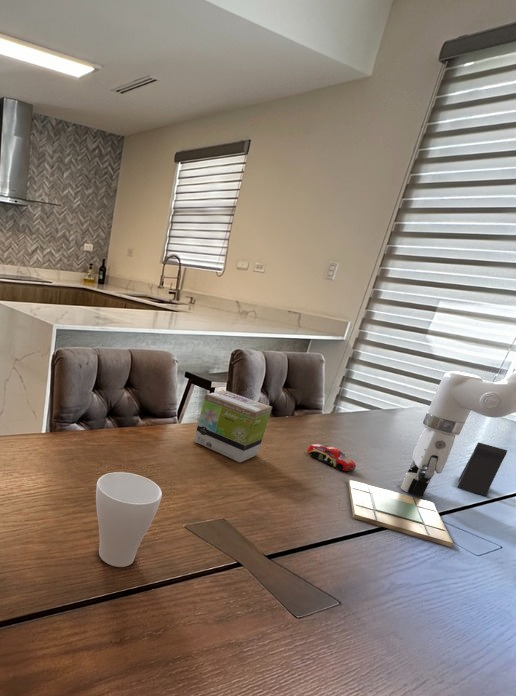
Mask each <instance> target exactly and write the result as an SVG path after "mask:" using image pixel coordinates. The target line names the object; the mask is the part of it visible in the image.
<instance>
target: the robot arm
mask: <svg viewBox="0 0 516 696" xmlns="http://www.w3.org/2000/svg"><path fill="white" fill-rule="evenodd" d="M471 411H472V412H473V413H476V414H478V415H481V416H484V417H488V418H493V419H494V418H495V419H496V418H502V417H506V416H509V415H511V414H514V413H516V370H514V371H513V372H511V373H510V374H509V375H507V376H505V377H504V378H503V379H501V380H500V381H497V382H496V381H494V382H493V381H492V382H491V381H485V380H483V379H482V378H481V377H480V376H478V375H475V374H471V373H467V372H461V371H448V372H446V373H445V374H444V375H443V376H442V378H441V380H440V382H439V384H438V387H437V389H436V392H435V393H434V396H433V398H432V401H431V402H430V405H429V407H428V410H427V412H426V414H425V416H424V418H423V421H422V423H421V426H422V427H423V428H424V429H423V430H422V432H421V434H420V436H419V438H418V440H417V441H416V442H417V443H416V444H415V447H414V449H413V451H412V456H411V457H412V463H411V464H410V466H409V469H408V471H407V473H408V472H412V473H417V475H416V478H413V480H412V482H411V485H410V487H409V489H408V492H407V493H408V494H410V495H413V496H417V497H420V498H421V497H424V494H425V492H426V491H427V488H428V486H429V484H430V482H431V479H432V478H433V477H434V476H435V473H436V474H438V475H439V474H442V472H443V471H444V469H445V466H446V464H447V461H448V459H449V456H450V454H451V451H452V449H453V446H454V442H455V439H456V436H460V434H461V432H462V430H463V427H464V425H465V424H466V421H467V419H468V418H469V415H470V413H471Z"/></svg>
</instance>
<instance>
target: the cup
mask: <svg viewBox="0 0 516 696" xmlns="http://www.w3.org/2000/svg"><path fill="white" fill-rule="evenodd" d="M162 497H163V491H162V489H161V487H160V486H159V485H158V484H157V483H156V482H154V481H153V480H151V479H149V478H147V477H146V476H143V475H139V474H137V473H131V472H126V471H125V472H123V471H115V472H109V473H105V474H103V475H101V476H100V477H99V478H98V479H97V482H96V489H95V505H96V507H95V508H96V516H97V525H98V536H99V545H98V556H99V557H100V559H101V560H102V561H103V562H104V563H106V564H107V565H110V566H112V567H117V568H124V567H125V568H126V567H129V566H130V565H132V564H134V563H133V562H134V561H135V558H136V555H137V553H138V549H139V548H140V545H141V543H142V541H143V539H144V537H145V535H146V534H147V532H148V531H149V529H150V527H151V525H152V523H153V521H154V519H155V517H156V514H157V512H158V510H159V507H160V504H161V500H162Z"/></svg>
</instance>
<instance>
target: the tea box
mask: <svg viewBox="0 0 516 696" xmlns="http://www.w3.org/2000/svg"><path fill="white" fill-rule="evenodd" d="M272 410H273V406H271V405H268V404H265V403H262V402H259V401H256V400H254V399H251V398H248V397H246V396H243V395H239V394H236V393H234V392H231V391H229V390H225V389H222V390H218V391H215V392H210V393H205V395H204V399H203V402H202V406H201V411H200V414H199V417H198V423H197V426H196V430H195V435H194V439H193V443H195V444H199V445H201V446H203V447H206V448H207V449H209V450H212V451H213V452H216V453H218V454H220V455H223V456H225V457H227V458H229V459H231V460H233V461H235V462H237V463H239V464H240V463H243V462H244V461H247V460H250V459H251V458H254V457H255V456H257V455H258V453H259V451H260V447H261V445H262V441H263V439H264V436H265V431H266V429H267V426H268V423H269V418H270V416H271V413H272Z"/></svg>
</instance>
